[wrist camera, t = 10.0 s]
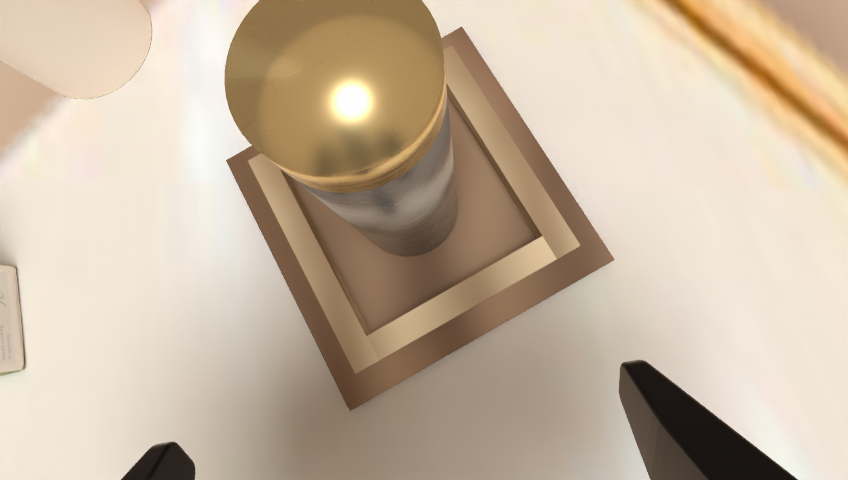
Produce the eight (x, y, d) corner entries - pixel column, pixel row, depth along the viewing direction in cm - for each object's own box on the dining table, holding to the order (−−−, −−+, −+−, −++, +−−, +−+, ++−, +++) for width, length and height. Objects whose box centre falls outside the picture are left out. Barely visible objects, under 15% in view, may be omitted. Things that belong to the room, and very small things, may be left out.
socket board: (352, 408, 22) (343, 416, 20) (231, 164, 25) (213, 152, 23) (610, 261, 22) (623, 256, 20) (461, 33, 25) (461, 11, 23)
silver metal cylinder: (426, 275, 22) (366, 215, 9) (342, 226, 23) (182, 109, 10) (476, 189, 23) (485, 21, 10) (392, 144, 23) (300, -66, 11)
